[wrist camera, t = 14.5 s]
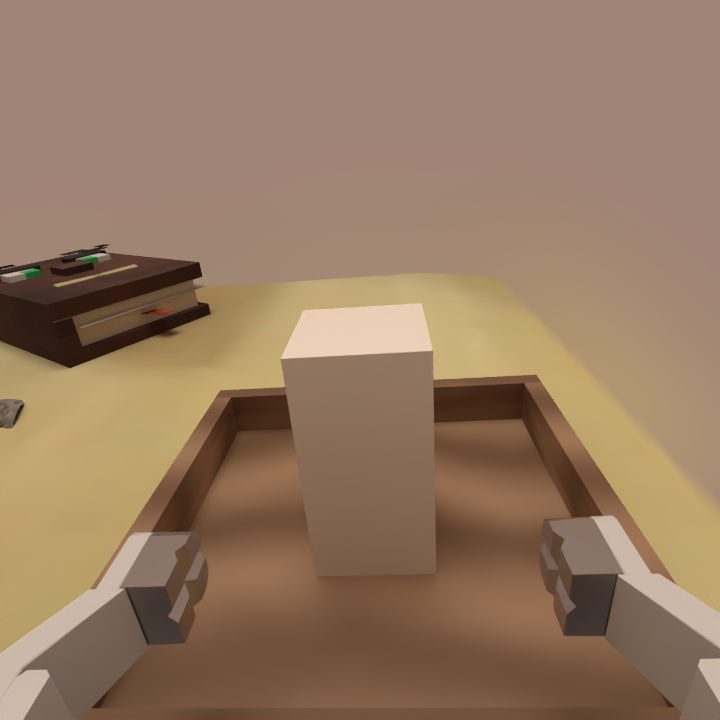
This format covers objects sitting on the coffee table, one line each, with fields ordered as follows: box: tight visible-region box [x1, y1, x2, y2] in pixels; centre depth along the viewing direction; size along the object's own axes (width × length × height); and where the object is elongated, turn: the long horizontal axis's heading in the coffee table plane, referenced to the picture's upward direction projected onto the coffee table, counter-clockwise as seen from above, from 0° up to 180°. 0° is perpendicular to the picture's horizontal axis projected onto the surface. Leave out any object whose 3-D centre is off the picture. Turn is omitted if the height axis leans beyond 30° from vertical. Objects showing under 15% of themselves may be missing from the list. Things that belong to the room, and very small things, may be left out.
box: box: [80, 375, 682, 720], centre depth 22 cm, size 20×20×4 cm
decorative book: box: [0, 245, 210, 368], centre depth 57 cm, size 19×8×30 cm
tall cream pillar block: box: [281, 303, 436, 577], centre depth 20 cm, size 5×5×10 cm
